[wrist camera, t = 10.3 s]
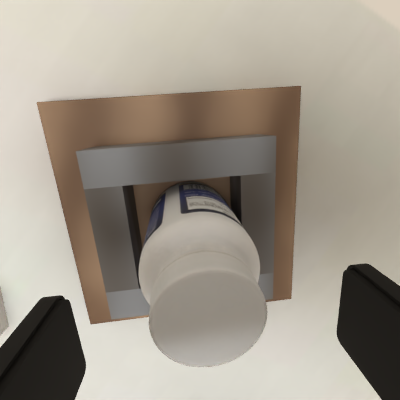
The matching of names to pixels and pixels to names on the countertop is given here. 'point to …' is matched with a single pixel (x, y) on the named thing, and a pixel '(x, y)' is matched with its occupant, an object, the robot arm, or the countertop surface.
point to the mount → (171, 179)
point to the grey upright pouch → (2, 315)
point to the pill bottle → (200, 278)
